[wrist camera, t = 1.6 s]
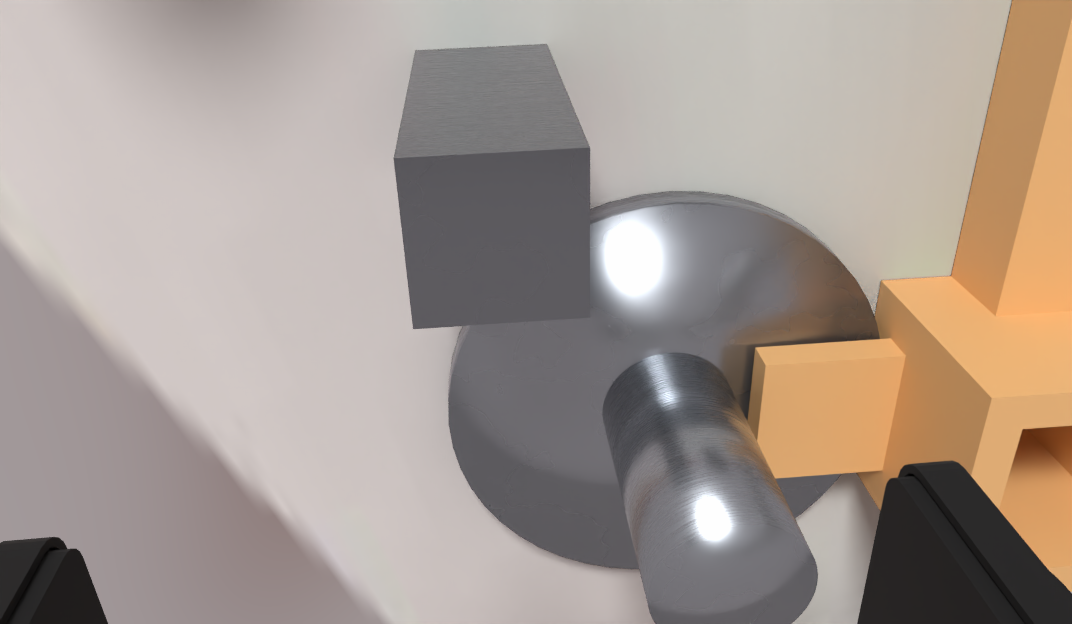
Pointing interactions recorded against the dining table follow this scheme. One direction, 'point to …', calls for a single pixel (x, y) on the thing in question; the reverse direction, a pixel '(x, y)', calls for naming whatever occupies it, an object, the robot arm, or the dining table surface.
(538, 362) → the metal disc with post
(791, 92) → the dining table surface
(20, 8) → the dining table surface
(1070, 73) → the bracket
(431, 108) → the grey long block
